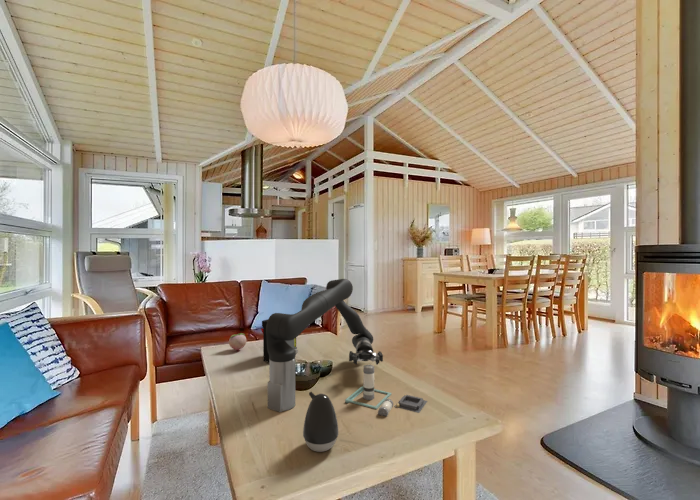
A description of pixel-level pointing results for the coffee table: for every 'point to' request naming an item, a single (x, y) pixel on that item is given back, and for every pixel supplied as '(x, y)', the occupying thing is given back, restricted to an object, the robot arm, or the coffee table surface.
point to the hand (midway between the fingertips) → (366, 362)
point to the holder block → (411, 403)
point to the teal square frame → (356, 393)
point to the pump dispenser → (320, 423)
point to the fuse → (385, 407)
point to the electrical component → (265, 351)
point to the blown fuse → (368, 382)
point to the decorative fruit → (237, 341)
